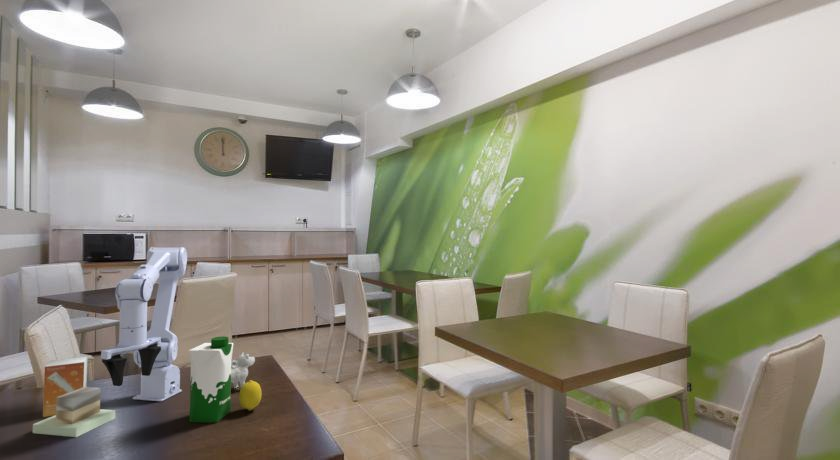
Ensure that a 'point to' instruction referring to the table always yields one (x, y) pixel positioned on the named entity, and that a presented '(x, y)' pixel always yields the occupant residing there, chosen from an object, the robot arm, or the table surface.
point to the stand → (74, 429)
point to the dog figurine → (240, 369)
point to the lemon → (250, 395)
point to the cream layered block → (77, 405)
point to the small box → (62, 380)
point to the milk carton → (210, 380)
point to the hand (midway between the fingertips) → (132, 380)
